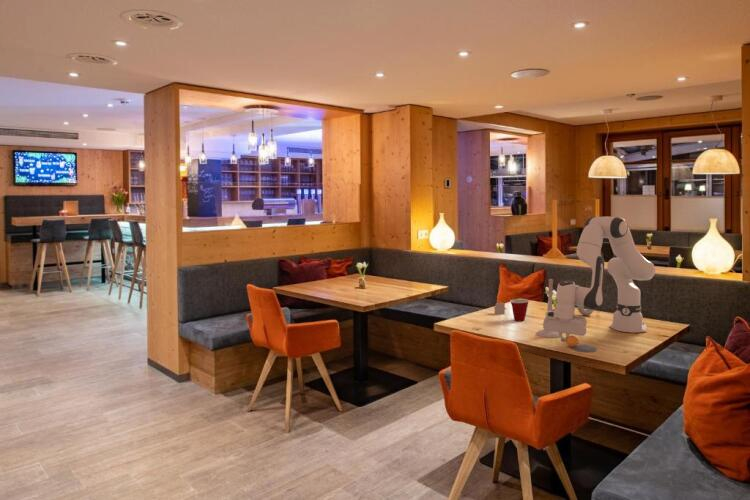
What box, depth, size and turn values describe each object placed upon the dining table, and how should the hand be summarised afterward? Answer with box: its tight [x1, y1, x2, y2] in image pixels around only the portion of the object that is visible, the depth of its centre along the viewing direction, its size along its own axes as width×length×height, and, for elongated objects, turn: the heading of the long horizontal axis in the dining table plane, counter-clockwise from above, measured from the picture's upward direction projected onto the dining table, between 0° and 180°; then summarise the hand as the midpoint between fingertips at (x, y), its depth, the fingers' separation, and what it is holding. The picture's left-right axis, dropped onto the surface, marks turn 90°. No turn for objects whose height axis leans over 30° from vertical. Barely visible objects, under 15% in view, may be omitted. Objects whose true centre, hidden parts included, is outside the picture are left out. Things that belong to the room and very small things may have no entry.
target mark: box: [569, 344, 598, 353], centre depth 268 cm, size 12×12×1 cm
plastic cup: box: [509, 298, 530, 322], centre depth 324 cm, size 11×11×12 cm
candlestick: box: [535, 278, 560, 339], centre depth 292 cm, size 13×13×30 cm
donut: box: [577, 306, 595, 316], centre depth 336 cm, size 10×4×10 cm, turn 87°
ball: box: [565, 335, 579, 347], centre depth 271 cm, size 6×6×6 cm
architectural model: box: [494, 301, 507, 315], centre depth 342 cm, size 3×7×7 cm, turn 91°
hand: (563, 341), depth 274 cm, fingers closed
